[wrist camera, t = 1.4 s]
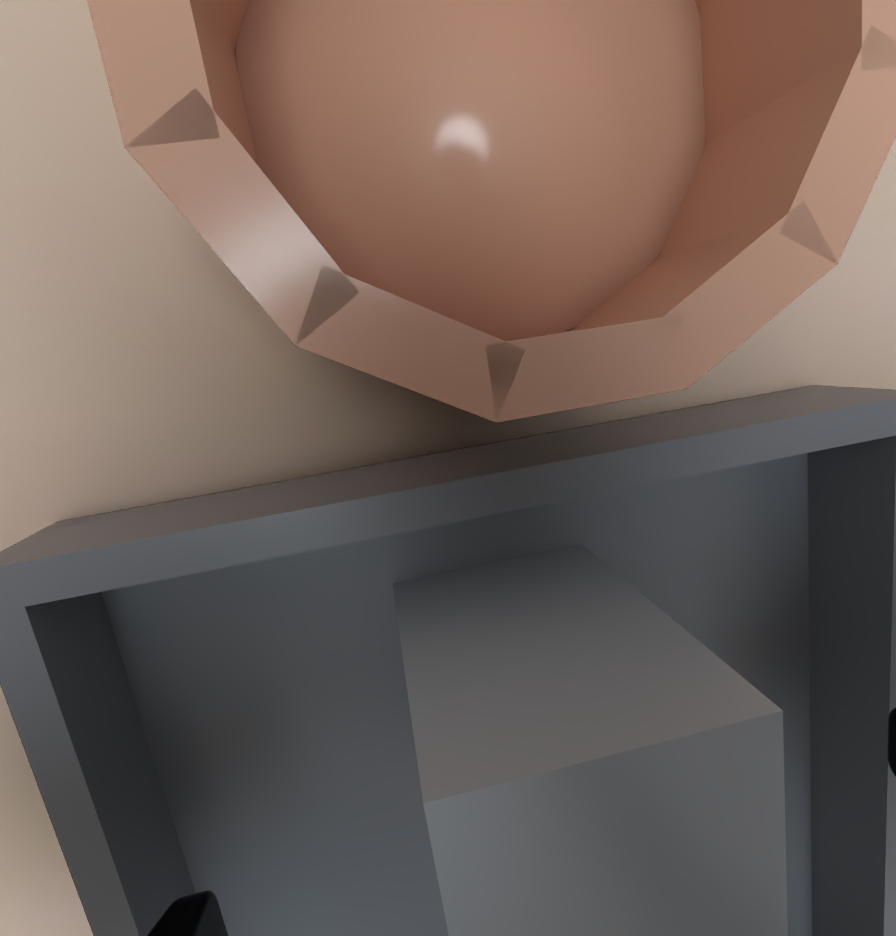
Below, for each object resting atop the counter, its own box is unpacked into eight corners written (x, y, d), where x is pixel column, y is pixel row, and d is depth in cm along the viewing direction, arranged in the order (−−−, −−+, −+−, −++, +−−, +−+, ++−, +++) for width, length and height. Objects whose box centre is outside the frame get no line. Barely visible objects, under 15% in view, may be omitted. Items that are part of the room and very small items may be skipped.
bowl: (739, 351, 10) (919, 348, 7) (262, 432, 9) (207, 473, 6) (718, -229, 9) (953, -613, 5) (115, -211, 7) (-88, -686, 4)
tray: (818, 999, 14) (902, 1117, 12) (270, 1182, 13) (250, 1358, 10) (814, 385, 11) (930, 391, 9) (56, 521, 9) (-41, 574, 7)
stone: (602, 728, 11) (789, 1015, 6) (427, 772, 11) (483, 1118, 6) (582, 544, 10) (782, 710, 5) (392, 583, 10) (422, 803, 5)
